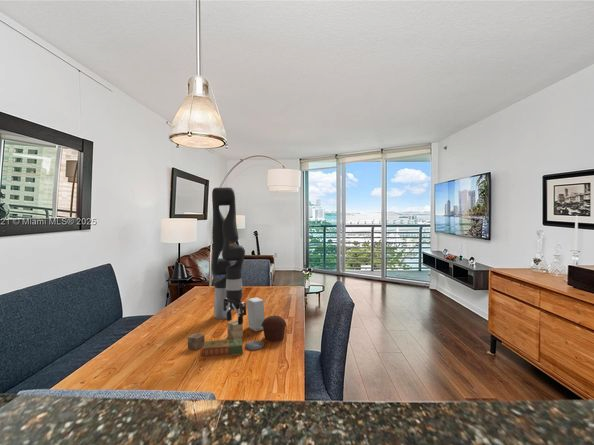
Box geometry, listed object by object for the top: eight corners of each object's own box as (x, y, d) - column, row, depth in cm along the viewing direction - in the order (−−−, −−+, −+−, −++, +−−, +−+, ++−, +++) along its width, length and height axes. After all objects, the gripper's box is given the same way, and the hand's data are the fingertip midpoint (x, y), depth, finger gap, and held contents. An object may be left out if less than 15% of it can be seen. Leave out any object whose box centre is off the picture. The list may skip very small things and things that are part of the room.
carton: (204, 350, 134) (204, 340, 134) (242, 346, 137) (242, 337, 137) (202, 359, 126) (202, 348, 126) (243, 354, 129) (242, 344, 129)
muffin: (284, 332, 152) (284, 312, 152) (288, 341, 142) (288, 319, 141) (260, 334, 150) (259, 314, 150) (262, 344, 139) (262, 321, 139)
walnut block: (187, 348, 135) (187, 337, 135) (195, 344, 140) (195, 333, 140) (197, 350, 133) (196, 338, 133) (204, 345, 138) (204, 334, 138)
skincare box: (265, 329, 157) (264, 300, 156) (254, 332, 153) (253, 302, 153) (257, 324, 164) (257, 296, 163) (247, 327, 160) (246, 298, 160)
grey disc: (241, 346, 136) (241, 344, 136) (255, 341, 142) (255, 339, 142) (253, 351, 131) (253, 350, 131) (267, 345, 137) (267, 344, 137)
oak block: (227, 337, 147) (227, 322, 147) (236, 334, 151) (235, 319, 151) (234, 340, 144) (233, 325, 144) (242, 336, 148) (242, 322, 148)
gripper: (218, 287, 149) (219, 321, 149) (237, 291, 139) (237, 327, 139) (231, 284, 154) (232, 317, 154) (250, 288, 145) (250, 323, 145)
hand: (234, 322), depth 147 cm, fingers open, 8 cm apart
